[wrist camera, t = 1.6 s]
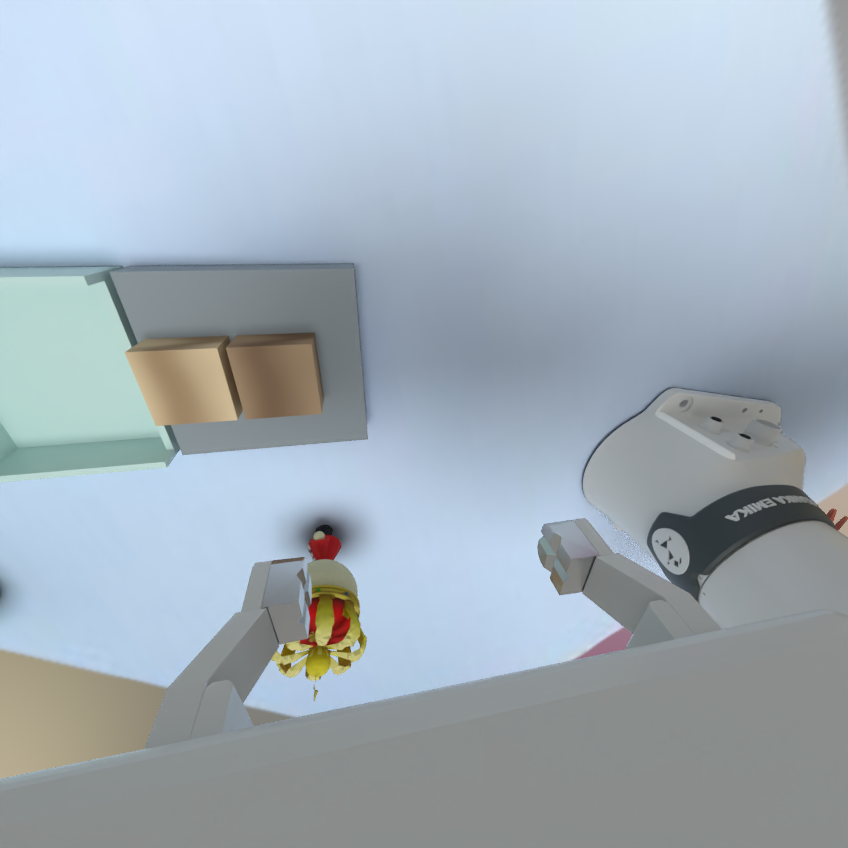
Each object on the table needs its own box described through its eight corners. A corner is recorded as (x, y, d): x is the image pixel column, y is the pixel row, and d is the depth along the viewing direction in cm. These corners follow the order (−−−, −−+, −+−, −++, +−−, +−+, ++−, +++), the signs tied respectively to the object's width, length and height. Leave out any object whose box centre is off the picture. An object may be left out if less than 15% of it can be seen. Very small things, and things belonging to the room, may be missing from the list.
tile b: (314, 332, 25) (311, 344, 23) (324, 398, 27) (322, 413, 25) (236, 335, 24) (225, 347, 22) (253, 402, 27) (245, 419, 24)
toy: (283, 515, 36) (246, 685, 23) (357, 504, 36) (362, 662, 24) (298, 563, 39) (274, 733, 27) (365, 552, 40) (372, 711, 27)
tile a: (228, 335, 24) (217, 348, 22) (246, 403, 27) (237, 420, 24) (145, 339, 23) (124, 352, 21) (171, 408, 26) (155, 425, 24)
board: (353, 263, 25) (354, 268, 23) (366, 423, 32) (367, 439, 30) (131, 265, 23) (109, 271, 21) (194, 437, 30) (182, 454, 28)
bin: (122, 266, 23) (58, 282, 18) (187, 437, 30) (154, 485, 25) (-106, 268, 21) (-249, 287, 16) (18, 451, 28) (-56, 505, 23)
